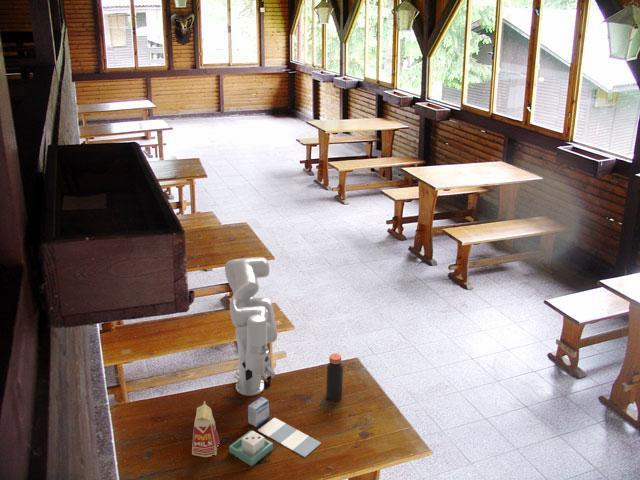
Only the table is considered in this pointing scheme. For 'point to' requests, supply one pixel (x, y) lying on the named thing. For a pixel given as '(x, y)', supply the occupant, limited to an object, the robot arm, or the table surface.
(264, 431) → the track
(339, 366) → the bottle
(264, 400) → the medicine box
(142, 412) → the table surface
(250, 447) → the die
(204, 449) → the milk carton
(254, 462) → the dice tray
